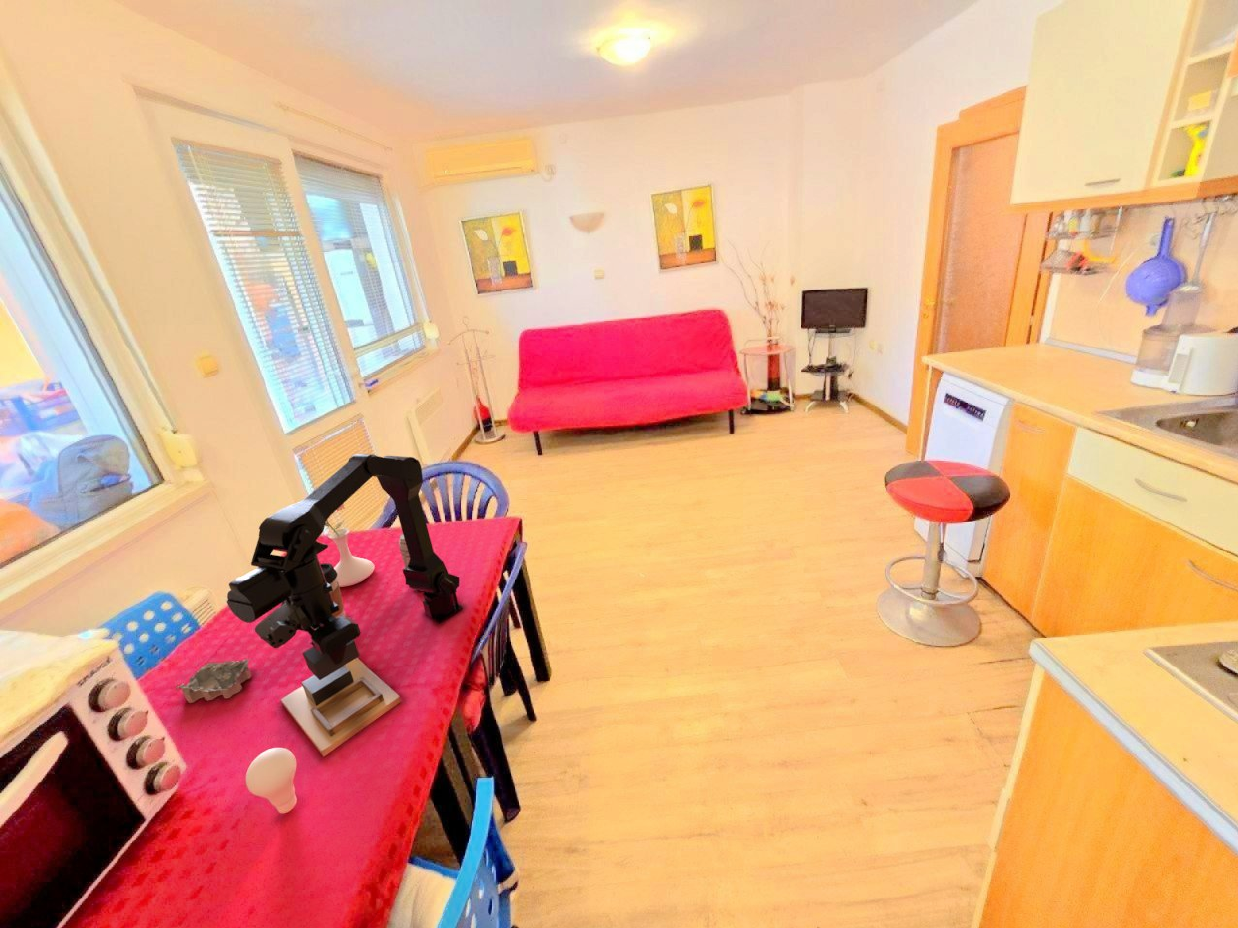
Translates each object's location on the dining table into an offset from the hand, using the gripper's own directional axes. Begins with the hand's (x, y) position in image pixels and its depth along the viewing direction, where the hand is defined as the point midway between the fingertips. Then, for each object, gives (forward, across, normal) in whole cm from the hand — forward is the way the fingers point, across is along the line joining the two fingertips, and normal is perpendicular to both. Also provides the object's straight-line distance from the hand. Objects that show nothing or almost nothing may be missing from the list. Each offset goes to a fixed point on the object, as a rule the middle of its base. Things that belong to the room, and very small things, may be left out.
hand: (332, 657), depth 91 cm
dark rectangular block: (+1, 0, 0) cm, 1 cm away
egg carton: (+11, -27, -14) cm, 32 cm away
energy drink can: (+11, -23, +29) cm, 39 cm away
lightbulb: (+11, +13, -15) cm, 23 cm away
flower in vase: (+11, -44, +20) cm, 50 cm away
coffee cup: (+11, -27, +8) cm, 30 cm away
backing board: (+11, -2, -1) cm, 11 cm away
